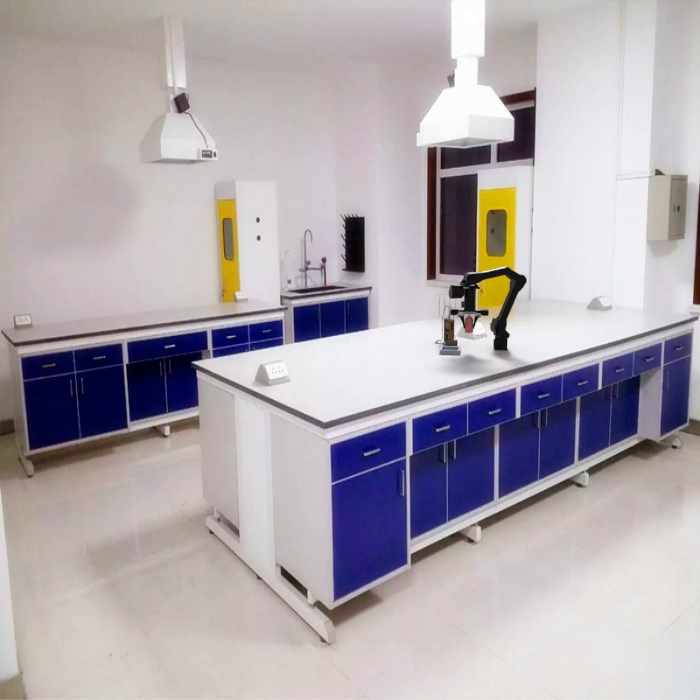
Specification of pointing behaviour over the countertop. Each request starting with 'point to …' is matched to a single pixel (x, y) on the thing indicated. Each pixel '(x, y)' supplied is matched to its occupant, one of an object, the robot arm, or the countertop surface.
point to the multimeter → (448, 328)
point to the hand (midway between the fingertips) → (469, 328)
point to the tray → (450, 350)
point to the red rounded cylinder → (469, 324)
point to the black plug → (451, 342)
